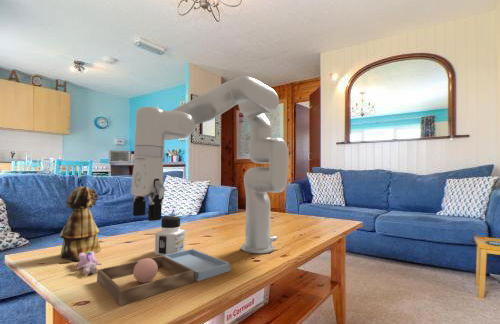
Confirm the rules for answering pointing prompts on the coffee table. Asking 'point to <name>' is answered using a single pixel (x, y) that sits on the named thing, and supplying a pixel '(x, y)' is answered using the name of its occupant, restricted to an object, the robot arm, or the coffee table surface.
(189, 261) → the tray
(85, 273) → the pink plastic figure
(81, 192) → the plaid cloth bag
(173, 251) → the container
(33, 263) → the coffee table surface
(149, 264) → the ball
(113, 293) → the wooden box frame
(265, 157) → the robot arm
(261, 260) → the coffee table surface
